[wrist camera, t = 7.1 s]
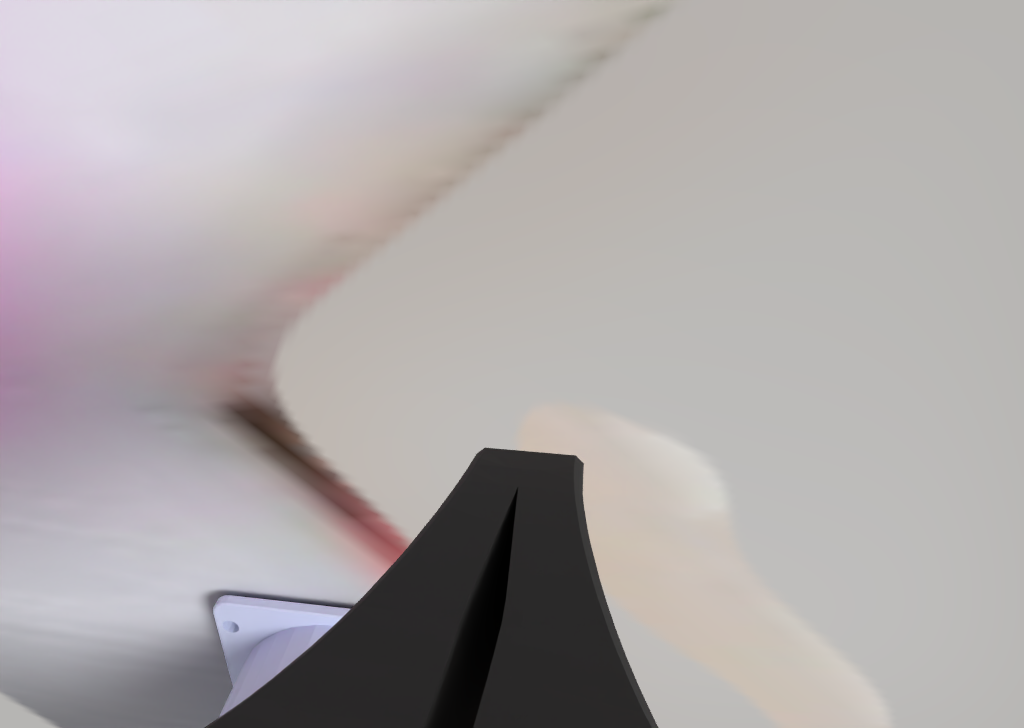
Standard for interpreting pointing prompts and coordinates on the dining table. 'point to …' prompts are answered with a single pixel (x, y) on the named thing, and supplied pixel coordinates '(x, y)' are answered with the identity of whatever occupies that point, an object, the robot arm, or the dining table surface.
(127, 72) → the dining table surface
